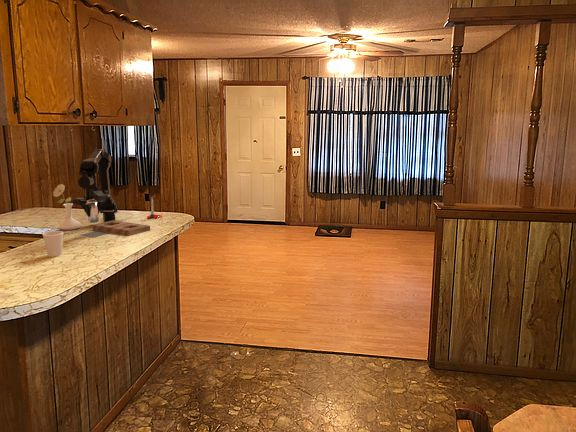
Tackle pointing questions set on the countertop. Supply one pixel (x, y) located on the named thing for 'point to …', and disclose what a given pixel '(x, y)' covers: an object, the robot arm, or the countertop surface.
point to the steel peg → (93, 212)
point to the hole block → (121, 227)
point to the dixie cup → (53, 242)
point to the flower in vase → (69, 221)
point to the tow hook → (153, 211)
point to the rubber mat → (94, 234)
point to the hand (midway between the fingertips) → (93, 215)
